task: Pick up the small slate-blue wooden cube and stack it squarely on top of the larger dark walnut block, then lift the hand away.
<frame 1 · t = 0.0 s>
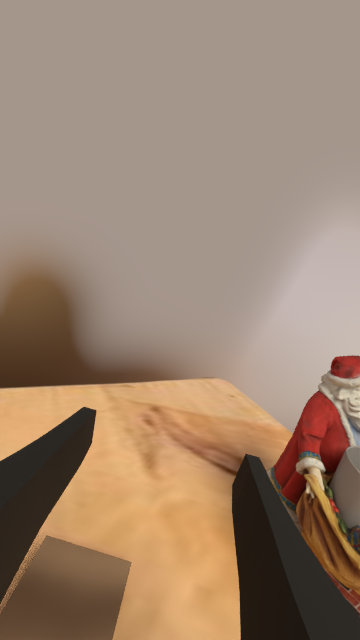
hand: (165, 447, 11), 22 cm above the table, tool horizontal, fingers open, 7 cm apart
santa figurine: (307, 566, 28), on the table
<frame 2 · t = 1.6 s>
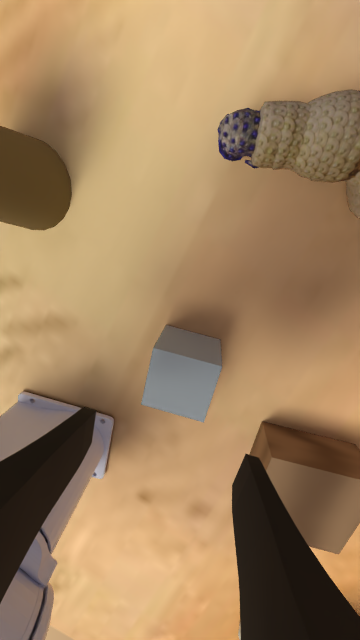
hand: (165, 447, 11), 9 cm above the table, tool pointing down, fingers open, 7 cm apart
slate cube: (186, 356, 20), on the table
walnut block: (291, 463, 23), on the table
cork: (33, 186, 18), on the table
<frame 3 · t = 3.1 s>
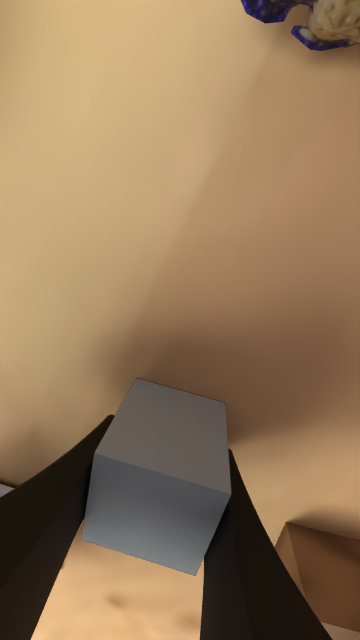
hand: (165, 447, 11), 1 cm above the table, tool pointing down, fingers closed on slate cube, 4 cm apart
slate cube: (170, 425, 13), on the table, touching gripper
walnut block: (330, 576, 15), on the table
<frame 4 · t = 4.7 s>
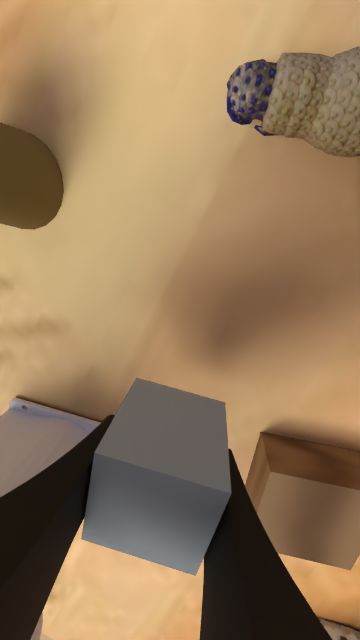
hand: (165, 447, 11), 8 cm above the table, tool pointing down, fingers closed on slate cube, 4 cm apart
slate cube: (170, 425, 13), point 7 cm above the table, touching gripper
walnut block: (295, 474, 22), on the table
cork: (23, 183, 17), on the table
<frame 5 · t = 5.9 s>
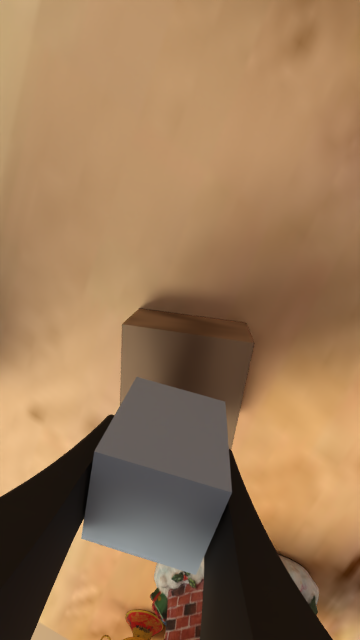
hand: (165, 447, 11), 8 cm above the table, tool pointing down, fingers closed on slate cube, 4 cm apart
slate cube: (170, 424, 13), point 7 cm above the table, touching gripper
magic lamp: (156, 624, 32), on the table
walnut block: (186, 361, 20), on the table
santa figurine: (230, 573, 27), on the table
when the fingers open (7 cm above the table, at t = 6.8 s): slate cube drops 2 cm, resting on walnut block.
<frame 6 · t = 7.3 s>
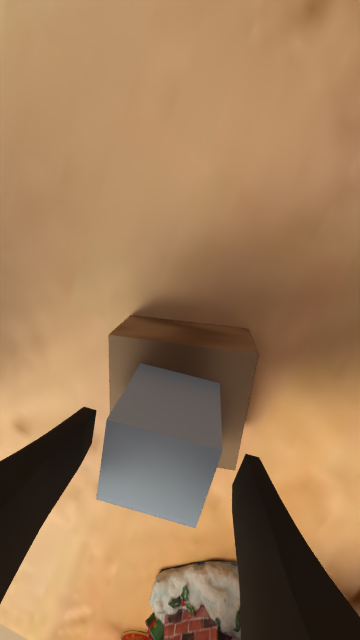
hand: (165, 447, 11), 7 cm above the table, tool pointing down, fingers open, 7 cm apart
slate cube: (171, 405, 14), point 4 cm above the table, touching walnut block
walnut block: (183, 371, 18), on the table, touching slate cube
santa figurine: (231, 595, 25), on the table
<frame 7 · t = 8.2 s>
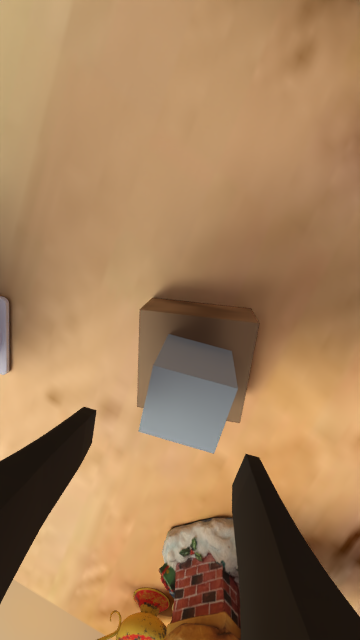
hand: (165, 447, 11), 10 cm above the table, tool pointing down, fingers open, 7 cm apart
slate cube: (192, 370, 17), point 4 cm above the table, touching walnut block
magic lamp: (162, 602, 34), on the table
walnut block: (196, 346, 21), on the table, touching slate cube
santa figurine: (234, 550, 29), on the table
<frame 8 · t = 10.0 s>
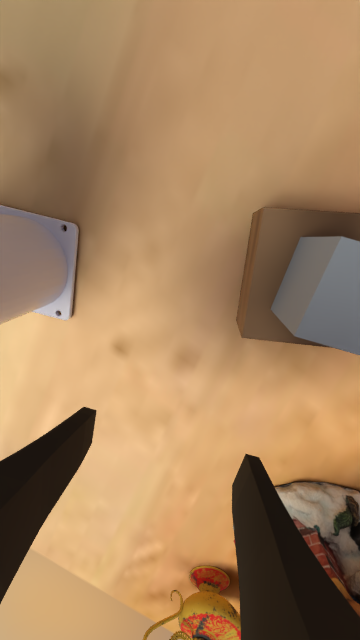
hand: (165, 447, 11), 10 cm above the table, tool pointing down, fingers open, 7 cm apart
slate cube: (320, 285, 15), point 4 cm above the table, touching walnut block
magic lamp: (221, 581, 31), on the table
walnut block: (296, 274, 18), on the table, touching slate cube
santa figurine: (310, 520, 26), on the table
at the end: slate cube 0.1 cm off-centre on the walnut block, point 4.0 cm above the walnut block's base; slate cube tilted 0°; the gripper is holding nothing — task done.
